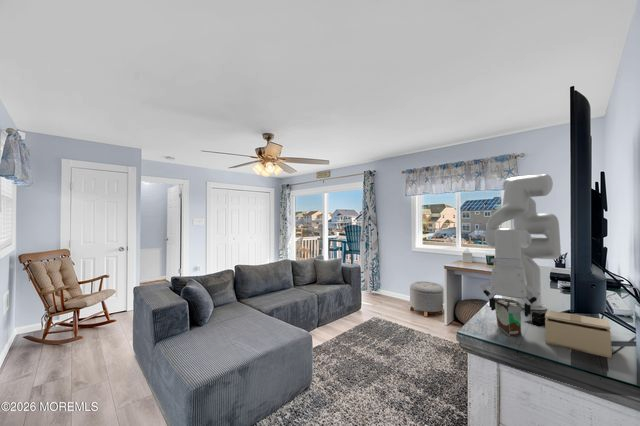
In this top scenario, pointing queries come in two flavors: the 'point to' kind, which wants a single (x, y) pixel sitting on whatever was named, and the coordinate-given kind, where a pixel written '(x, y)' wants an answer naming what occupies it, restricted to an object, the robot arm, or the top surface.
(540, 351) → the top surface
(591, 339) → the carton
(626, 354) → the top surface
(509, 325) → the food container
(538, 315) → the black box
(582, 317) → the lid
